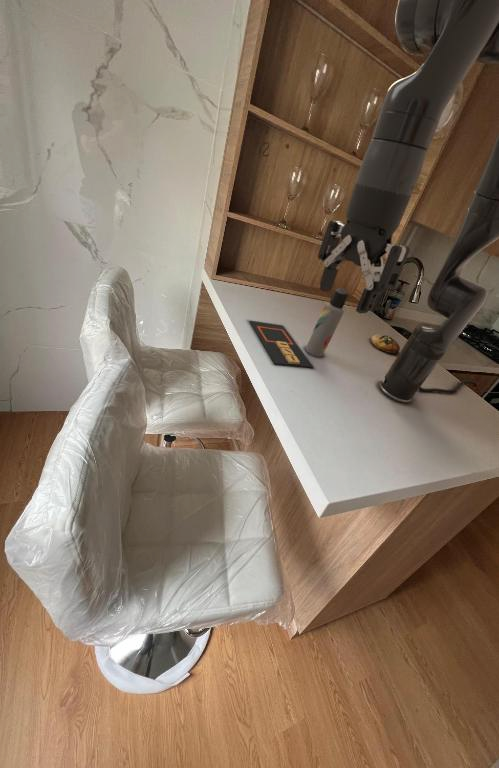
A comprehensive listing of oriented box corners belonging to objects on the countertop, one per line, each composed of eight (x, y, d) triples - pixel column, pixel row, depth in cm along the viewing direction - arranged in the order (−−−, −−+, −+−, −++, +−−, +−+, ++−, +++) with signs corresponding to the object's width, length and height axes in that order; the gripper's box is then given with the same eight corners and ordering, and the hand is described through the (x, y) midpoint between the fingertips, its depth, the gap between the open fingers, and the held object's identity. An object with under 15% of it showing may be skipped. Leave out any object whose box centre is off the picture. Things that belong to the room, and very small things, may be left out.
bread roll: (404, 355, 120) (410, 343, 117) (380, 356, 116) (385, 344, 113) (385, 340, 128) (390, 329, 126) (362, 341, 125) (366, 329, 122)
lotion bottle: (325, 353, 101) (355, 293, 91) (318, 359, 97) (349, 295, 86) (309, 345, 103) (337, 284, 92) (302, 350, 99) (330, 286, 88)
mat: (249, 321, 104) (250, 317, 104) (282, 326, 109) (283, 323, 108) (274, 364, 86) (276, 360, 86) (312, 368, 91) (314, 364, 90)
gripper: (446, 201, 41) (391, 318, 51) (363, 180, 50) (329, 283, 60) (410, 194, 37) (358, 323, 47) (328, 173, 46) (298, 284, 56)
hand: (342, 300), depth 53 cm, fingers open, 8 cm apart
